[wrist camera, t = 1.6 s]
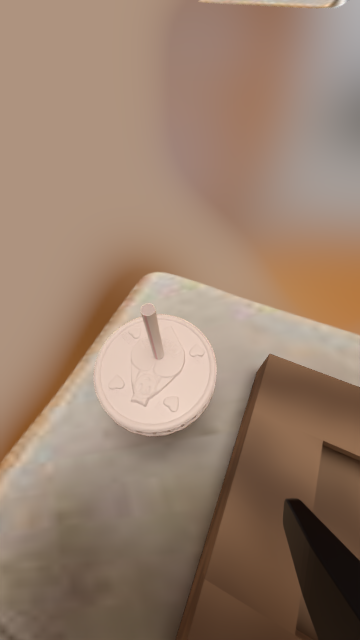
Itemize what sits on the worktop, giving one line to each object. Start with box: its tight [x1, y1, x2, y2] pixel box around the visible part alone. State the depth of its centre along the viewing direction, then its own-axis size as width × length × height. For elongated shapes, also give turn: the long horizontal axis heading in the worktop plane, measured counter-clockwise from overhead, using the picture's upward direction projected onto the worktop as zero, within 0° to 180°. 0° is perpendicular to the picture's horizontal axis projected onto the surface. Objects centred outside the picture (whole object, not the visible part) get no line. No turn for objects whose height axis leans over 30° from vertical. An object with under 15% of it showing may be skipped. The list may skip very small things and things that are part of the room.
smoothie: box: [94, 303, 217, 436], centre depth 15 cm, size 6×6×14 cm
